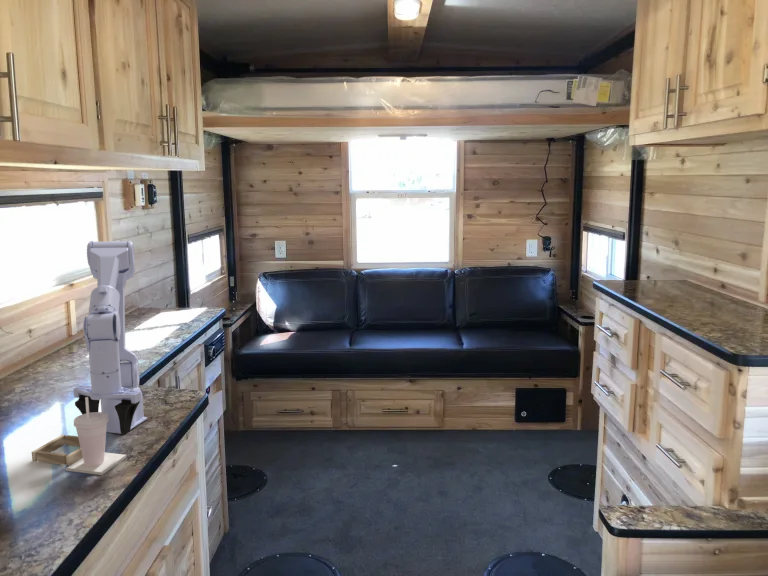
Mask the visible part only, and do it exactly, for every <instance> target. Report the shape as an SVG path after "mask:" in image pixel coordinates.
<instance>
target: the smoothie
mask: <svg viewBox="0 0 768 576" xmlns="http://www.w3.org/2000/svg"><path fill="white" fill-rule="evenodd" d="M85 402H86V414H82V413H81V415H78V416H76V417H75V418H74V419H73V427H74V428H75V429H76V434H77V436H78V439H79V443H80V447H81V452H82V456H83V460H84V465H85V466H89V467H92V466H97V465H100V464H102V463H103V462H104V456H105V452H106V438H107V432H106V425H107V422H108V420H109V419H108V415H107V414H106V413H102V412H100V411H98V412H92V413H89V401H88V397H85ZM80 447H79V448H80Z"/></svg>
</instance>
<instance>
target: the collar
mask: <svg viewBox="0 0 768 576" xmlns="http://www.w3.org/2000/svg"><path fill="white" fill-rule="evenodd" d="M63 446H69V447H77V449H75V450H73V451H72V452H70V453H67V454H66V453H60V452H57V453H56V452H54V451H56V450H57V449H59V448H61V447H63ZM81 458H83V456H82V452H81V447H80V443H79V439H78V435H69V434H61V435H59V436H57V437H56V438H54V439H52V440H50V441H49V442H47V443H45V444H43V445H41V446H39V447H38V448H36V449H34V450H32V451H31V461H32V462H38V463H44V464H45V463H46V464H53V465H59V466H60V465H61V466H62V465H63V466H67V467H69V466H70V465H72V464H73V463H75V462H76V461H78V460H80V459H81Z"/></svg>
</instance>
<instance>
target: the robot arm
mask: <svg viewBox="0 0 768 576" xmlns="http://www.w3.org/2000/svg"><path fill="white" fill-rule="evenodd" d="M135 255H136V254H135V245H134V242H132V240H123V241H119V240H118V241H117V240H116V241H114V240H112V241H93V240H91V241H89V242H88V243H87V245H86V258H87V264H88V266H89V269H90V270H89V271H90V273H91V274H92V277H93V278H94V280H95V279H96V283H97V287H95V288H94V289H92V291H91V293H90V296H89V297H90V298H89V306H88V316H85V317H84V318H83V326H82V327H83V336H84V340H85V346H86V351H87V352H88V361H89V362H88V363H89V371H90V372H89V373H90V374H89V375H90V385H78V386H76V387H74V388H73V397H74V398H77V399H78V400H76V401H75V402H74V406H75V407H76V408H77V409H78V410H79V411H80V413H81V415H82V414H86V402H85V397H88V401H89V413H92V412H99V409H100V410H101V412H102V413H106V414H107V415H108V419H109V420H108V422H107V425H106V433H112V434H119V435H121V436H125V435H127V434H129V433H131V430H132V429H134V428H136V427H137V426H139V425H141V424H142V423H143V422H145V421H146V420H148V417H147V416H144V398H143V393H142V390H141V388H140V387H139V385H140V368H139V367H140V366H139V358H138V356H137V355H136V354H135V353H134V352H133V351H131V350H129V349H128V348H126V313H125V311H126V310H125V309H126V307H125V306H126V305H125V289H126V284H127V281H128V280H130V279H131V278H134V276H135V272H136V268H135V265H136V264H135V260H136V257H135ZM99 407H100V408H99Z"/></svg>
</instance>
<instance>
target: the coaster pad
mask: <svg viewBox="0 0 768 576" xmlns="http://www.w3.org/2000/svg"><path fill="white" fill-rule="evenodd" d="M126 458H127V454H124V453H123V454H122V453H121V454H120V453H112V452H106V451H105V456H104V462H103V463H102V464H100V465H97V466H92V467H89V466H85V465H84V460H83V458H81V459H80V460H78V461H76V462H75V463H73V464H72V465H70V466H67V467H66V471H67V472H74V473H81V474H82V473H83V474H90V475H98V476H103V475H104V474H106V473H107V472H108V471H110V470H111V469H113V468H115V467H116V466H117V465H118V464H120V463H121V462H123V461H124V460H125V459H126Z"/></svg>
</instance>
